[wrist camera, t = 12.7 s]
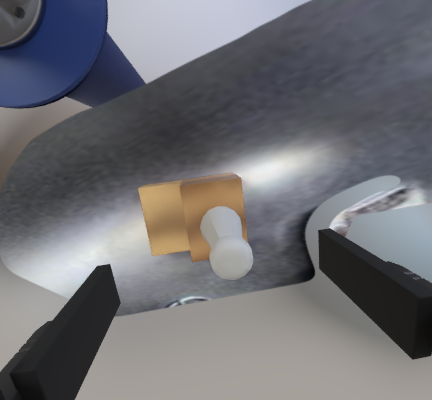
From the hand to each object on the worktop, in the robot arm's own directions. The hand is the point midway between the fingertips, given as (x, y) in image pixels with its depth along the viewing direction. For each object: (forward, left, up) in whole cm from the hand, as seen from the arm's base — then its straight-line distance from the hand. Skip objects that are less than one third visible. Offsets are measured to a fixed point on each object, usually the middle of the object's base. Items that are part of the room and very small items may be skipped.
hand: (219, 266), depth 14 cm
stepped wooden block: (+4, -3, -27) cm, 28 cm away
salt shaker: (+4, +1, -20) cm, 20 cm away
